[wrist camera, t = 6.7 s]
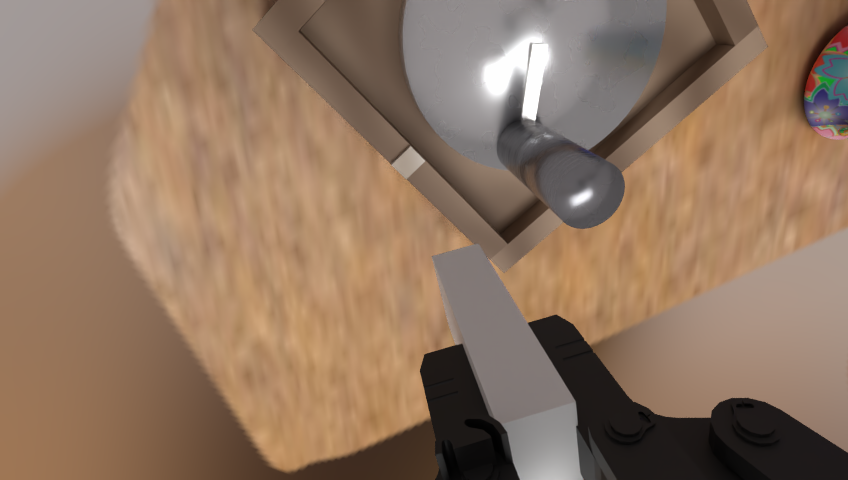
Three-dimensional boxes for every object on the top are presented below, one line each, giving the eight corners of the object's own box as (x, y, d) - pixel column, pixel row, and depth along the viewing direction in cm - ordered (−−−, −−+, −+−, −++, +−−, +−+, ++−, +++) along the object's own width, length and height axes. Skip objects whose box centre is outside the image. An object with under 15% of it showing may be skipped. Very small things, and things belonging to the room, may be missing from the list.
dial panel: (548, -302, 21) (588, -360, 18) (722, 43, 30) (771, 47, 26) (263, 27, 25) (251, 30, 22) (488, 248, 33) (505, 274, 30)
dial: (404, -138, 21) (450, -244, 12) (675, -104, 24) (877, -173, 15) (394, 159, 27) (419, 230, 18) (610, 162, 30) (726, 226, 21)
